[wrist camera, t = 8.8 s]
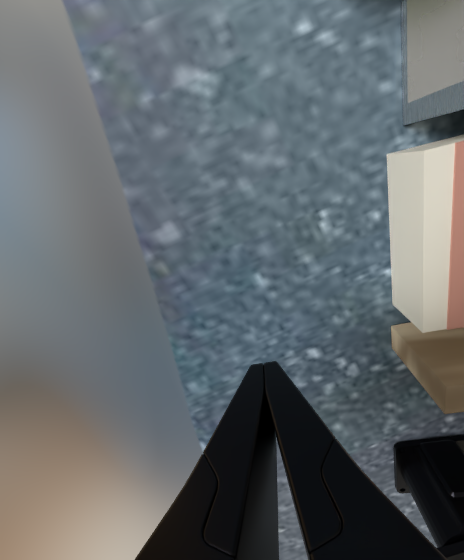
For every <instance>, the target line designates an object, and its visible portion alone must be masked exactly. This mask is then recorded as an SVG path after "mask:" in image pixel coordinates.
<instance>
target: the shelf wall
mask: <svg viewBox="0 0 464 560" xmlns="http://www.w3.org/2000/svg"><path fill="white" fill-rule="evenodd" d="M391 337H392V349H393V350H394V351H395V352H396V354H397V355H398V356H399V357H400V359H401V360H402V361H403V362H404V364H405V365H406V366H407V367H408V369H409V370H410V371H411V372H412V374H413V375H414V376H415V378H416V379H417V380H418V381H419V383H420V384H421V385H422V386H423V388H424V389H425V390H426V391H427V393H428V394H429V395H430V396H431V398H432V399H433V400H434V401H435V403H436V404H437V405H438V406H439V408H440V409H441V410H442V411H443V413H444V414H449V413H457V412H464V327H462V328H456V329H450V330H447V329H443V330H437V331H431V332H425V333H422V332H421V331H420V330H419V329H418V328H417V327H416V326H415V325H414V324H413V323H412V322H410V323H404V324H398V325H392V326H391Z"/></svg>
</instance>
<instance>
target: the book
mask: <svg viewBox="0 0 464 560" xmlns="http://www.w3.org/2000/svg"><path fill="white" fill-rule="evenodd" d="M387 172H388V197H389V223H390V248H391V274H392V300H393V305H394V306H395V307H396V308H397V309H398V310H399V311H400V312H401V313H402V314H403V315H404V316H405V317H406V318H408V319H409V320H410V321H411V322H412V323H413V324H414V325H415V326H416V327H417V328H418V329H419V330H420V331H421V332H422V333H425V332H431V331H437V330H443V329H447V330H450V329H456V328H462V327H464V134H463V135H459V136H455V137H451V138H447V139H444V140H440V141H436V142H432V143H428V144H424V145H420V146H417V147H413V148H409V149H405V150H401V151H397V152H394V153H390V154H387Z"/></svg>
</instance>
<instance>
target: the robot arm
mask: <svg viewBox="0 0 464 560" xmlns="http://www.w3.org/2000/svg"><path fill="white" fill-rule="evenodd" d="M276 437H277V441H278V445H279V449H280V453H281V457H282V460H283V464H284V468H285V472H286V476H287V480H288V484H289V487H290V491H291V495H292V499H293V503H294V507H295V511H296V514H297V518H298V522H299V526H300V530H301V534H302V537H303V541H304V545H305V549H306V553H307V557H308V560H464V436H456V437H447V438H438V439H429V440H420V441H411V442H402V443H397V444H395V445H394V472H395V487H396V489H397V491H398V492H399V493H411V495H412V497H413V499H414V501H415V503H416V505H417V507H418V509H419V511H420V513H421V515H422V517H423V519H424V521H425V523H426V525H427V527H428V529H429V531H430V533H431V535H432V537H433V539H434V541H435V543H436V545H437V547H438V548H436V547H435V546H434V545H433V544H432V543H431V542H430V541H429V540H428V539H427V538H426V537H425V536H424V535H423V534H422V533H421V532H420V531H419V530H418V529H417V528H416V527H415V526H414V525H413V524H412V523H411V522H410V521H409V519H408V518H407V517H406V516H405V515H404V514H403V513H402V512H401V511H400V510H399V509H398V508H397V507H396V506H395V505H394V504H393V503H392V502H391V501H390V500H389V499H388V498H387V497H386V496H385V495H384V494H383V493H382V491H381V490H380V489H379V488H378V487H377V486H376V485H375V484H374V483H373V482H372V481H371V480H370V478H369V477H368V476H367V475H366V474H365V473H364V472H363V471H362V470H361V469H360V467H359V466H358V465H357V464H356V463H355V461H354V460H353V459H352V458H351V456H350V455H349V454H348V453H347V452H346V450H345V449H344V448H343V446H342V445H341V444H340V443H339V441H338V440H337V439H335V436H334V435H333V434H332V432H331V431H330V430H329V429H328V427H327V426H326V425H325V423H324V422H323V421H322V419H321V418H320V417H319V416H318V414H317V413H316V412H315V410H314V409H313V408H312V407H311V405H310V404H309V403H308V401H307V400H306V399H305V397H304V396H303V395H302V394H301V392H300V391H299V390H298V388H297V387H296V386H295V384H294V383H293V382H292V381H291V379H290V378H289V377H288V375H287V374H286V373H285V372H284V370H283V369H282V368H281V366H280V365H279V364H278V363H277V362H276V361H272V362H266V363H264V364H262V363H260V364H253V365H251V366H250V367H249V369H248V371H247V373H246V375H245V377H244V378H243V380H242V382H241V384H240V386H239V388H238V389H237V391H236V393H235V395H234V397H233V399H232V400H231V402H230V404H229V406H228V408H227V410H226V411H225V413H224V415H223V417H222V419H221V421H220V422H219V424H218V426H217V428H216V430H215V432H214V433H213V435H212V437H211V439H210V441H209V443H208V444H207V446H206V448H205V450H204V452H203V454H202V455H201V457H200V459H199V461H198V462H197V464H196V466H195V468H194V470H193V471H192V473H191V475H190V477H189V478H188V480H187V482H186V483H185V485H184V487H183V488H182V490H181V491H180V493H179V494H178V496H177V497H176V499H175V501H174V502H173V504H172V505H171V507H170V508H169V510H168V511H167V513H166V514H165V516H164V517H163V519H162V520H161V522H160V523H159V525H158V526H157V528H156V529H155V531H154V532H153V533H152V535H151V536H150V538H149V539H148V541H147V542H146V544H145V545H144V547H143V548H142V550H141V551H140V553H139V554H138V555H137V557H136V559H135V560H279V541H278V497H277V453H276Z"/></svg>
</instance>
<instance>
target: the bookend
mask: <svg viewBox="0 0 464 560" xmlns="http://www.w3.org/2000/svg"><path fill="white" fill-rule="evenodd" d="M401 10H402V87H403V125H407V124H411V123H415V122H418V121H422V120H426V119H430V118H433V117H437V116H441V115H445V114H448V113H452V112H456V111H460V110H463V109H464V0H403V1H402V2H401Z"/></svg>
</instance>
